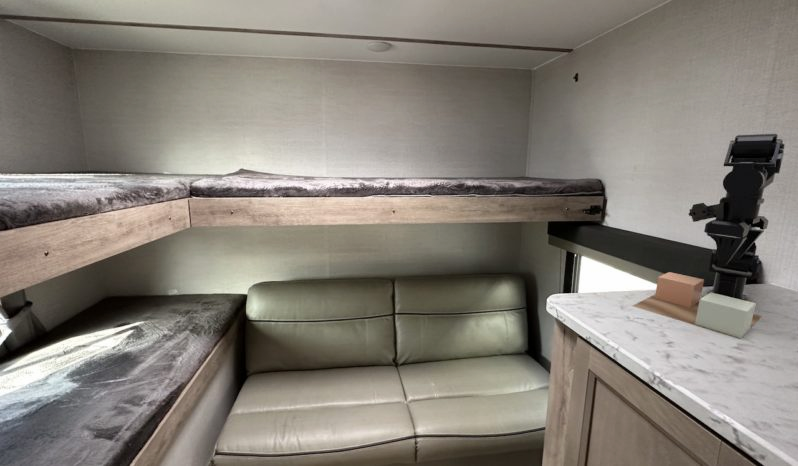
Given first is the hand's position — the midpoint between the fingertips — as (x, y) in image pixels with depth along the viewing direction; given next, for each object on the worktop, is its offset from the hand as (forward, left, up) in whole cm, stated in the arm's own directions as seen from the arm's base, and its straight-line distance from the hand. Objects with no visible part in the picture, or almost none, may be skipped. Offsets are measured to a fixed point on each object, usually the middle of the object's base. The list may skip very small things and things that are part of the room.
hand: (729, 261), depth 79 cm
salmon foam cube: (+4, -7, -11) cm, 14 cm away
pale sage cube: (+13, +3, -11) cm, 18 cm away
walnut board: (+8, -2, -12) cm, 15 cm away
